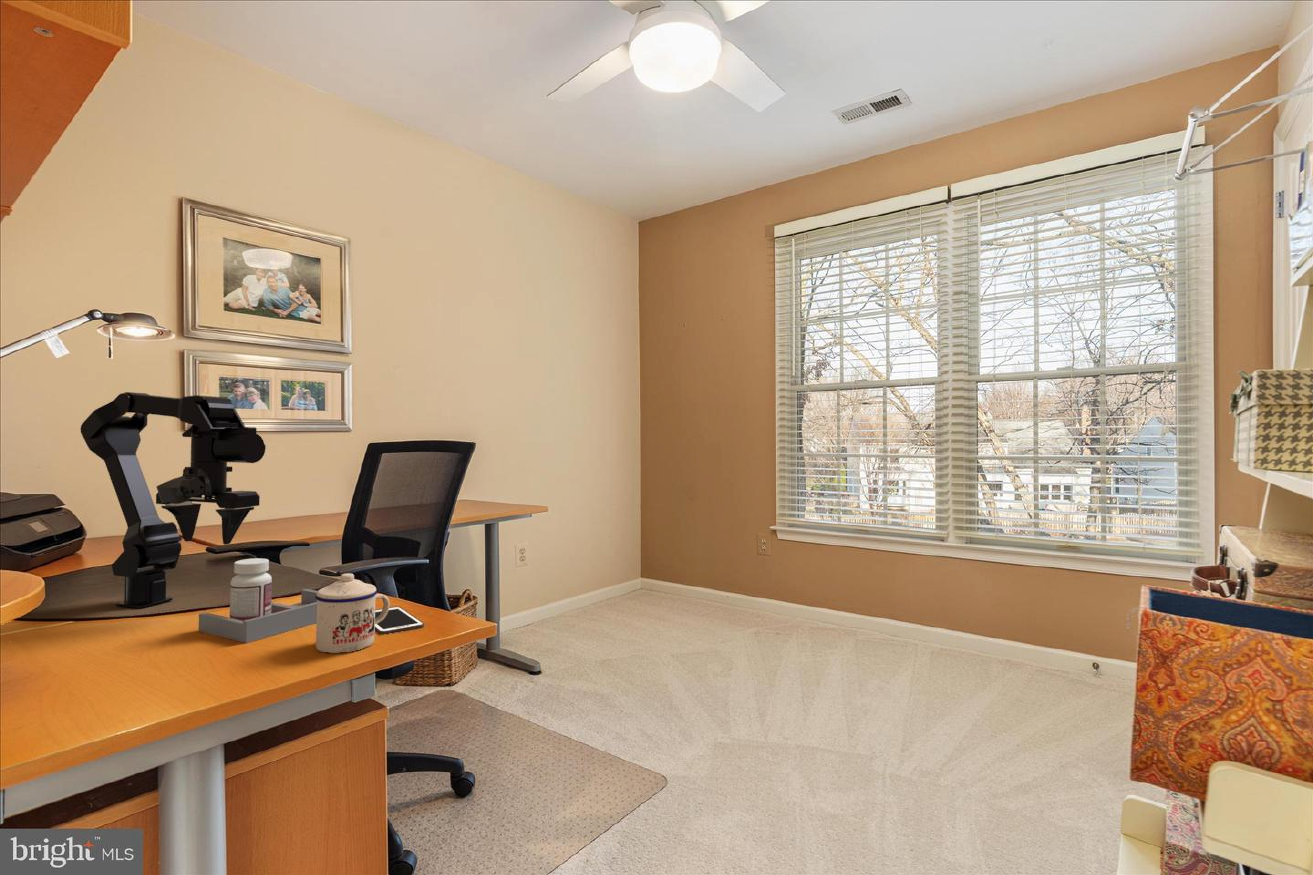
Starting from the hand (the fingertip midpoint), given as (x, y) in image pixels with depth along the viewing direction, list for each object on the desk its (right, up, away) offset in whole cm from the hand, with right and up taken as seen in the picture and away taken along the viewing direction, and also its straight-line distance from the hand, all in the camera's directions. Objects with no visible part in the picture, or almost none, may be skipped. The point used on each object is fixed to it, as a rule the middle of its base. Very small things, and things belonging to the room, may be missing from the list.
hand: (207, 542), depth 119 cm
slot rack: (+17, -14, -5) cm, 22 cm away
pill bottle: (+15, -13, -10) cm, 22 cm away
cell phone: (+37, -15, -4) cm, 40 cm away
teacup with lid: (+36, -14, -16) cm, 42 cm away
